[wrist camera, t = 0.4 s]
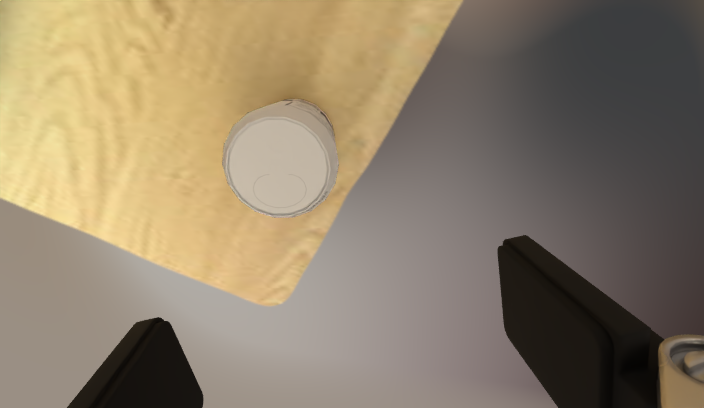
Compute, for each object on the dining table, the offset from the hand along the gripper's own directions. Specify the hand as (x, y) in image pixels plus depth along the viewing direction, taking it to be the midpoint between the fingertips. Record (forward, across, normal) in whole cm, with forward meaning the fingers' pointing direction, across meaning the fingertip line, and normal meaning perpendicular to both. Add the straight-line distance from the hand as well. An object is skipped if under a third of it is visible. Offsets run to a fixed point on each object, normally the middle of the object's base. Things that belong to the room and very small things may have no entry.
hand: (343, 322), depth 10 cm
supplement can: (+31, +4, -2) cm, 31 cm away
